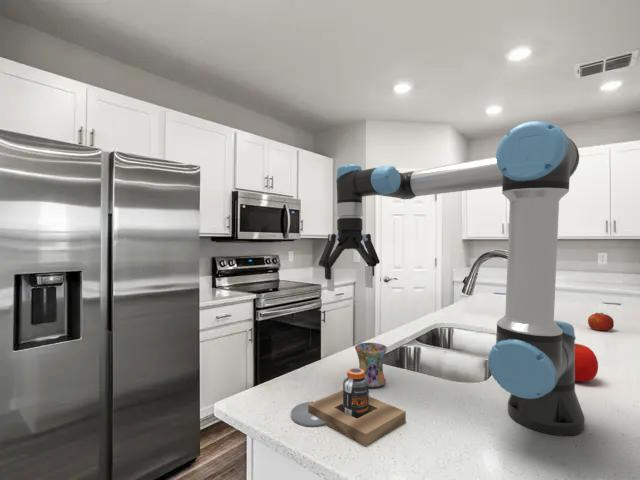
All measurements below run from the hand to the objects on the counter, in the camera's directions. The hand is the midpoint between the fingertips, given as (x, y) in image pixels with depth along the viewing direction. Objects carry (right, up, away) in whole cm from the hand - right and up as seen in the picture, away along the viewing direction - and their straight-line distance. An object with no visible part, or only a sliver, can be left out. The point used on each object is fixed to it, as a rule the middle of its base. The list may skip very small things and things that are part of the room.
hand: (350, 289), depth 107 cm
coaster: (-11, -27, -21) cm, 36 cm away
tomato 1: (+67, -27, -1) cm, 72 cm away
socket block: (-1, -27, -23) cm, 36 cm away
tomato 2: (+118, -27, +56) cm, 134 cm away
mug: (+5, -27, -1) cm, 28 cm away
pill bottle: (-1, -27, -23) cm, 36 cm away
